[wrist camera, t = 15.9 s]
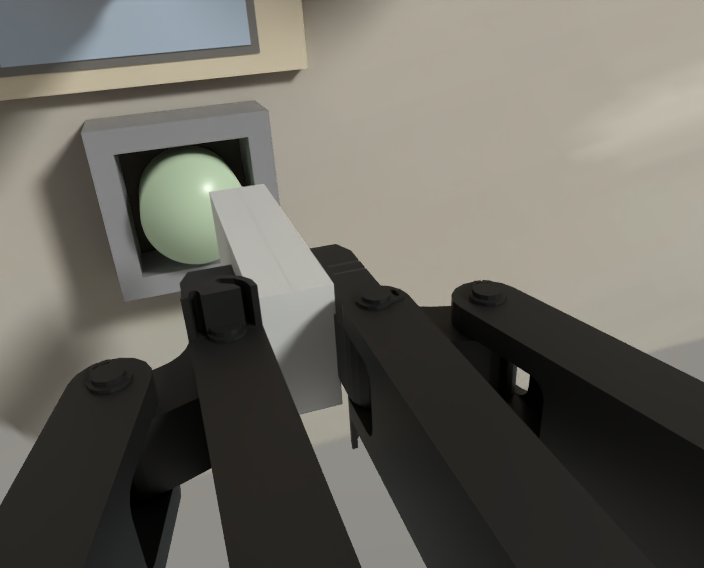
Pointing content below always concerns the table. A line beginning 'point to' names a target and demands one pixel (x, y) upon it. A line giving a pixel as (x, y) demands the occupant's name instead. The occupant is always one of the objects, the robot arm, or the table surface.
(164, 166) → the button
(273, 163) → the button collar
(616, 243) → the table surface
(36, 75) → the sheet
